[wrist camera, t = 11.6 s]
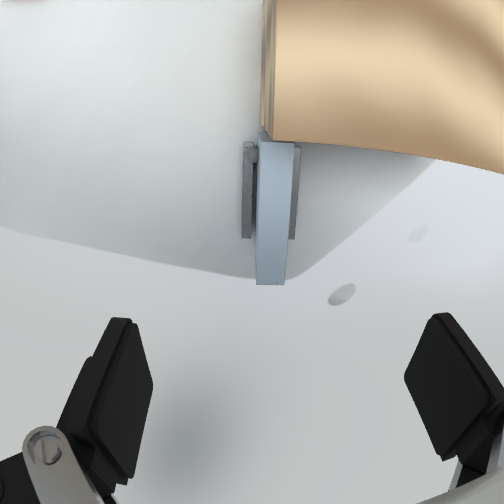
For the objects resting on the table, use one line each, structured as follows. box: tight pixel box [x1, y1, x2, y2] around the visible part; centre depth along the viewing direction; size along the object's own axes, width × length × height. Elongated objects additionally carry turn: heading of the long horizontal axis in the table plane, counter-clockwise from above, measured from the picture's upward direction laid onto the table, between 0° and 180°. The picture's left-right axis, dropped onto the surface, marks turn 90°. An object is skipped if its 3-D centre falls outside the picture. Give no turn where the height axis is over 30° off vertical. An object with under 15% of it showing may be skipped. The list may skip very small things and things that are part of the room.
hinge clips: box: [242, 142, 301, 239], centre depth 27 cm, size 8×5×3 cm, turn 179°
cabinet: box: [260, 0, 504, 174], centre depth 16 cm, size 12×16×16 cm
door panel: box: [248, 132, 294, 285], centre depth 24 cm, size 10×3×9 cm, turn 179°
